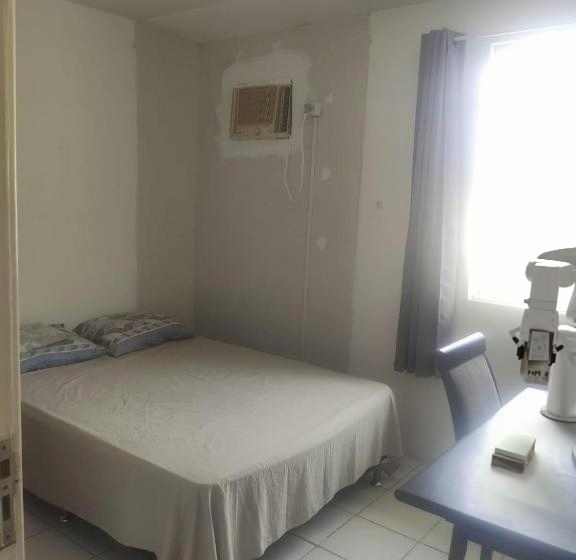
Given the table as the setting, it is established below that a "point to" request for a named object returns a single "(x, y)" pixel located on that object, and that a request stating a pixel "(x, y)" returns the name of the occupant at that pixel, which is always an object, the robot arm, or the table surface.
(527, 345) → the coffee box
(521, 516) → the table surface
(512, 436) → the pale green tile
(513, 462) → the grayish brown block
